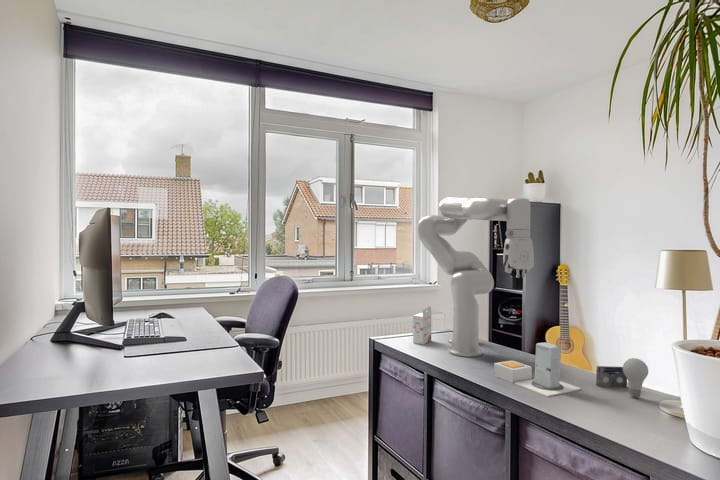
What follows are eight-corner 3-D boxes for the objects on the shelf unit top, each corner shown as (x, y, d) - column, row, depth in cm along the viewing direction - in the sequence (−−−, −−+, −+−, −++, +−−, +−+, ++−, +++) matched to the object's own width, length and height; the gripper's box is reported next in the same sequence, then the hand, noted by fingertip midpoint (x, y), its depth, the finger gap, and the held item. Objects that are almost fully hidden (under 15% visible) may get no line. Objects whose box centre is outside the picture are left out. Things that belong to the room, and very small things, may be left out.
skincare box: (533, 382, 136) (534, 343, 136) (544, 380, 138) (544, 341, 138) (550, 389, 130) (550, 347, 130) (561, 387, 132) (561, 346, 132)
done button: (500, 372, 144) (500, 363, 144) (512, 370, 146) (512, 361, 146) (512, 377, 139) (512, 367, 139) (524, 374, 141) (524, 365, 141)
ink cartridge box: (421, 339, 194) (421, 305, 194) (431, 340, 192) (432, 306, 192) (412, 343, 187) (412, 308, 187) (423, 344, 185) (423, 309, 184)
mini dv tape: (624, 386, 135) (624, 366, 135) (626, 387, 134) (627, 367, 134) (596, 385, 136) (596, 365, 136) (598, 387, 134) (598, 367, 134)
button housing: (493, 375, 144) (494, 363, 144) (512, 372, 148) (512, 360, 148) (512, 383, 137) (512, 370, 137) (531, 379, 141) (531, 366, 141)
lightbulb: (618, 393, 129) (618, 355, 129) (639, 394, 128) (640, 355, 128) (630, 401, 123) (630, 361, 122) (652, 401, 122) (653, 361, 122)
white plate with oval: (515, 384, 136) (515, 382, 136) (547, 377, 143) (547, 376, 143) (547, 396, 126) (547, 395, 126) (580, 389, 132) (581, 387, 132)
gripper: (509, 235, 144) (509, 291, 144) (543, 235, 151) (542, 289, 151) (493, 234, 151) (492, 289, 151) (525, 235, 158) (525, 287, 158)
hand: (517, 289), depth 151 cm, fingers closed
